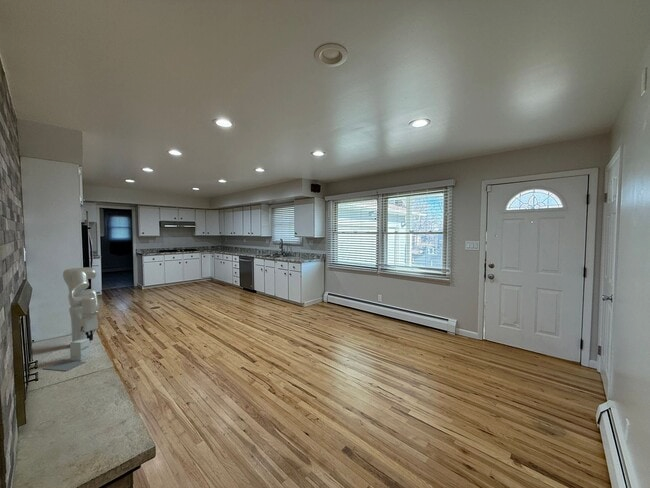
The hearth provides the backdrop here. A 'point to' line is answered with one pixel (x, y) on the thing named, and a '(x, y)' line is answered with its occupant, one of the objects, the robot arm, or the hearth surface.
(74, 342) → the supplement box
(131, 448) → the hearth surface
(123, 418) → the hearth surface
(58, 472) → the hearth surface
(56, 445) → the hearth surface
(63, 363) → the mat
